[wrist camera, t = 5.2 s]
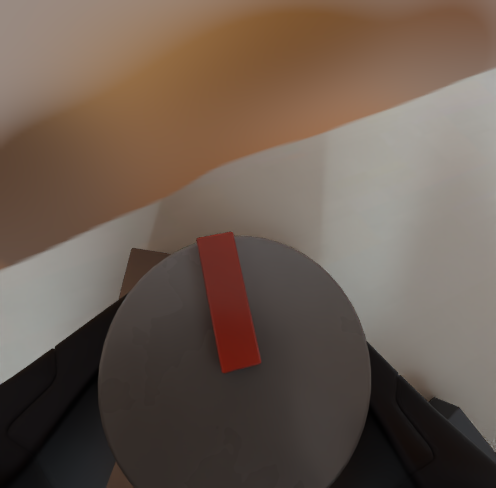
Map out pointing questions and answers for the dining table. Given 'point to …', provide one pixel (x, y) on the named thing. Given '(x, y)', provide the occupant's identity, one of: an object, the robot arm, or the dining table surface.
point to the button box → (462, 425)
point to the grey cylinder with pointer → (234, 371)
